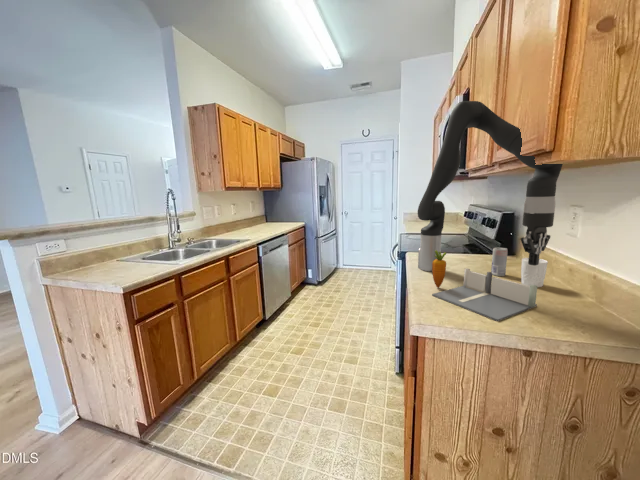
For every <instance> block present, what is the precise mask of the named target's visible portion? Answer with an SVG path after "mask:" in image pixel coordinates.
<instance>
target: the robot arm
mask: <svg viewBox="0 0 640 480" xmlns="http://www.w3.org/2000/svg"><path fill="white" fill-rule="evenodd" d="M449 115H450V116H449V119H448V122H447V123H448V124H447V127H446V131H445V135H444V139H443V141H442V145H441V148H440V150H439V154H438V157H437V159H436V161H435V163H434V164H435V165H434V167H433V170H432V174H431V176H430V179H429V182H428V184H427V187H426V189H425V190H424V191H425V192H424V193H423V196H422V198H421V200H420V202H419V204H418V208H417V217H418V219H419V220H421V221H427V222H428V221H429V223H428V224H427V225H425V226H423V227H422V228H421V229H420V241H419V242H420V245H419V246H420V248H418V255H417V259H418V260H417V268H418V269H419V270H422V271H424V272H425V271H426V272H432V263H433V261H434V260H435V259H437V258H436V257H435V256H437V255H436V253H435V251H436V250H437V251H438V253H439V252H441V250H442V234H443V233H442V232H443V230H444V225H445V224H444V223H445V215H446V214H445V213H446V207H445V204H444V203H443V202H442V200H436V199H437V198H438V196H439V195H440V194H441V193H442V192H443V191H444V190H445V189H446V188H447V187H448V186H449V185H450V184H451V183H452V182H453V181H454V180H455V178H456V175H457V173H458V171H459V168H460V166H461V162H462V161H461V159H462V158H461V157H462V156H461V142H462V138H463V136H464V133H465V131H466V129H471V128H474V129H478V130H481V131H483V132H485V133H486V134H488V135H489V136H490V138H491V139H492V141H494V143H495V144H496V145H497V146H498V147H500V148H501V149H504V150H505V151H507V152H508V153H510V154H512V155H514V156H515V157H516V158H517V159H518V160H519V161H520V162H521V163H523V164H524V165H525V166H527V167H529V168H531V169H534V172H533V177H532V178H530V179H529V180H528V181H527V183H526V184H527V185H526V193H525V194H526V195H525V200H524V205H523V215H522V227H526V228H527V229H526V231H525V237H521V238H520V242H521V245H522V247H523V250H524V252H526V253H528V258H529V261H528V264H529V265H534V266H535V265H538V264H539V259H540V255H541V254H542V252H544V251H545V249H546V247H547V246H548V243H549V241H550V240H551V235H550V234H547V233H548V229H547V228H553V226H554V220H555V211H556V190H557V182H558V179H559V177H560V175H561V171H562V167H563V164H564V163H563V164H542V165H535V164H536V163H535V160H534V159H535V157H534V156H522V155H520V152H521V147H522V138H521V132H520V129H521V128H520V127H518V126H516V125H514V124H512V123H510V122H508V121H507V120H505V119H504V118H502V117H501V116H499V115H498V114H496V113H495V112H494V111H492V110H491V109H490V108H489V107H488V106H487V105H486V104H484V103H483V102H481V101H479V100H463V101H460V102H458V103H457V104H456V105H455V106H454V107H453V108H452V110H451V113H450V114H449ZM519 128H520V129H519ZM441 253H442V252H441Z"/></svg>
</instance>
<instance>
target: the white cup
mask: <svg viewBox="0 0 640 480" xmlns="http://www.w3.org/2000/svg"><path fill="white" fill-rule="evenodd" d="M528 261H529V257H522V258H521V267H520V268H521V269H520V270H521V271H520V277H521V279H520V282H521V283H520V284H524V285H528V286H530V285H536V286H537V288H542V287H544V282H545V281H544V280H545V279H546V275H547V267H548V263H549V262H548V260H545V259H543V258H542V259H541V258H539V264H538V265H535V266H534V265H529V264H528Z"/></svg>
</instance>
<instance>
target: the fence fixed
mask: <svg viewBox="0 0 640 480" xmlns="http://www.w3.org/2000/svg"><path fill="white" fill-rule="evenodd" d="M463 272H464V274H463V275H464V276H463V285H462V286H464V287H471V288H474V289H477V290H481V291H484V292H485V291H486V292H485V293H487V294H491V285H492V277H493V275H492V272H491V271H486V274H484V273H482V272H481V273H480V272H476V271H474V270H473V271H472V270H471V269H470V268H467V267H466V268H464V271H463Z"/></svg>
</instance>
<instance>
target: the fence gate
mask: <svg viewBox="0 0 640 480" xmlns="http://www.w3.org/2000/svg"><path fill="white" fill-rule="evenodd" d="M491 294H493V295H497V296H500V297H503V298H506V299H509V300H513V301H516V302H519V303H522V304H525V305H528V306H531V307H534V308H536V307H535V304H536V301H537V295H538V287H537V286H536V285H530V286H528V285H524V284H522V283H519V282H515V281H512V280H508V279H503V278H500V277H497V276H492V283H491Z"/></svg>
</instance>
